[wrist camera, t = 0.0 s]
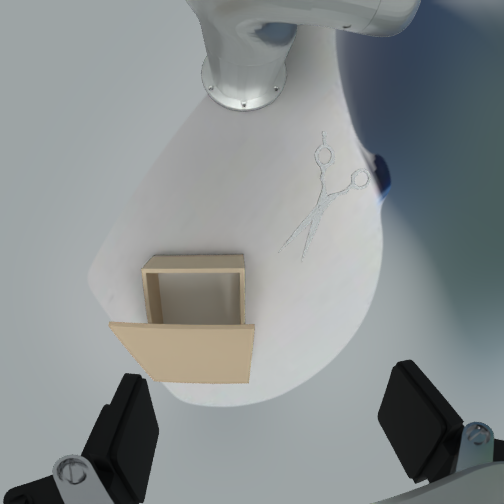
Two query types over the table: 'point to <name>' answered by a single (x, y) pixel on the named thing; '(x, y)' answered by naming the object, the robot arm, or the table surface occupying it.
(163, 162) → the table surface
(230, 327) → the lid
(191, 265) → the box
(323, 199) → the scissors
